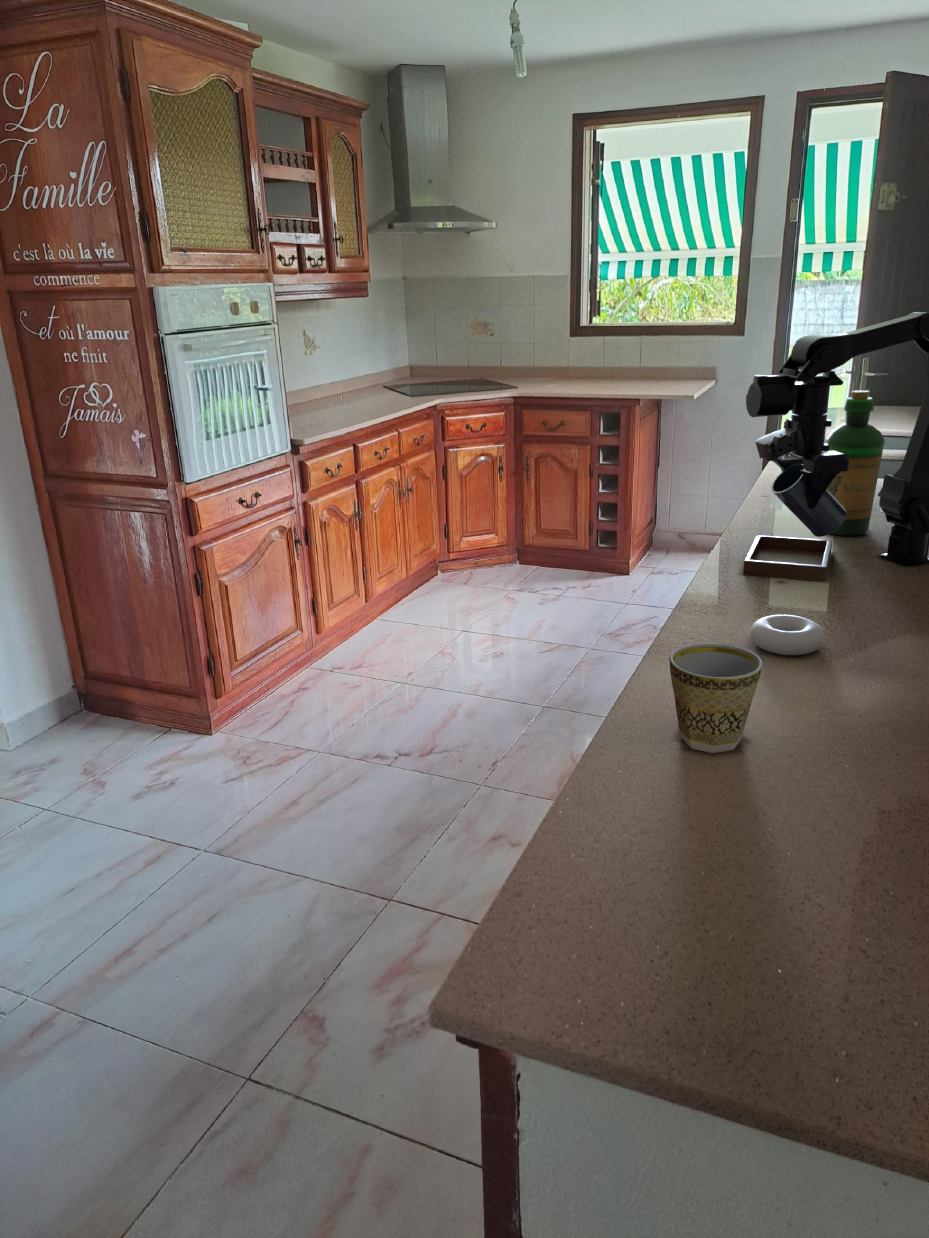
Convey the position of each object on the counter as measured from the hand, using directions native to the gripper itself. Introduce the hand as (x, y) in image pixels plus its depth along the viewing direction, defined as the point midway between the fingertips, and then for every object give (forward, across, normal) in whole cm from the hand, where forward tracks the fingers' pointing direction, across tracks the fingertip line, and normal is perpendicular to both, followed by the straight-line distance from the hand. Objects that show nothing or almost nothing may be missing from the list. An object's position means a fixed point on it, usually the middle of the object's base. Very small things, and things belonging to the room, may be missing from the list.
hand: (800, 503), depth 155 cm
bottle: (+12, -20, +21) cm, 32 cm away
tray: (+12, -3, 0) cm, 12 cm away
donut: (+12, +33, -18) cm, 39 cm away
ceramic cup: (+12, +56, -38) cm, 69 cm away
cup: (+4, 0, +6) cm, 7 cm away
